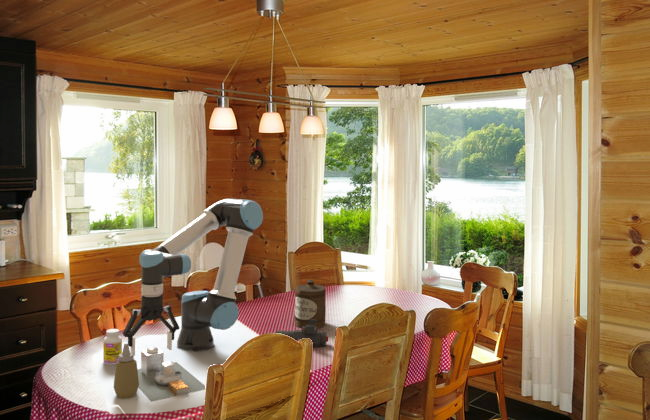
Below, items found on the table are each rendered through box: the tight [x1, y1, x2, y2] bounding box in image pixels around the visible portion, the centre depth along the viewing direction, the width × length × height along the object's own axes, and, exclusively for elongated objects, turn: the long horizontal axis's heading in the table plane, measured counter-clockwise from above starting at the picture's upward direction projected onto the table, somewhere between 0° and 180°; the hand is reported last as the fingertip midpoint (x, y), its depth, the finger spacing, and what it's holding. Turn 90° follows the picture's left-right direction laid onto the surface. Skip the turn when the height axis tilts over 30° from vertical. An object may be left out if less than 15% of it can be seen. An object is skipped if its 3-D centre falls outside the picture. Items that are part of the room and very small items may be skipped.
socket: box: [140, 346, 165, 377], centre depth 215 cm, size 6×6×9 cm
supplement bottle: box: [103, 328, 123, 366], centre depth 225 cm, size 7×7×13 cm
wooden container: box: [294, 279, 327, 329], centre depth 282 cm, size 15×15×22 cm
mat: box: [137, 361, 206, 402], centre depth 209 cm, size 20×30×1 cm, turn 35°
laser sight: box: [275, 319, 329, 347], centre depth 252 cm, size 10×22×10 cm, turn 87°
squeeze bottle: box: [113, 343, 139, 400], centre depth 195 cm, size 8×8×18 cm
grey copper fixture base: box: [155, 361, 189, 397], centre depth 203 cm, size 18×9×6 cm, turn 35°
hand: (151, 351), depth 214 cm, fingers open, 13 cm apart
